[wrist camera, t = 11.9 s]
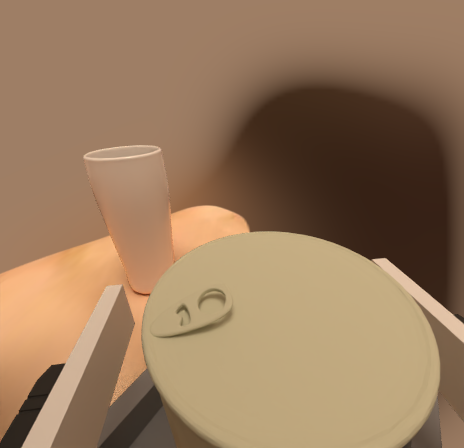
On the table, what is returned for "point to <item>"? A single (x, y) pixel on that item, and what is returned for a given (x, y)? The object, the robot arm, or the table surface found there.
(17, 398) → the table surface
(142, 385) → the tray
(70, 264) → the table surface
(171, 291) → the can
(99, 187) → the drinking glass
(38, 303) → the table surface
